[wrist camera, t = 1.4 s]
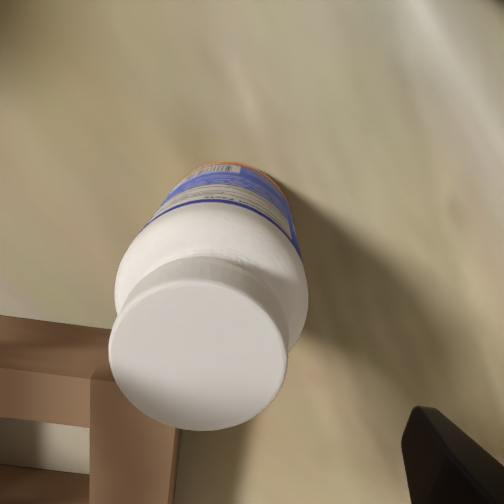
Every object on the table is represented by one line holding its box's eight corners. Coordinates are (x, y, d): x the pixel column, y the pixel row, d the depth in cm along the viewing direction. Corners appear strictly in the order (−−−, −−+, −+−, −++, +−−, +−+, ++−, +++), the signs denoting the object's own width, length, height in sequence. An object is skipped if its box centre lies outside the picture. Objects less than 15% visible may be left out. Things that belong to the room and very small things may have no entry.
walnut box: (191, 340, 21) (179, 390, 18) (172, 516, 26) (159, 581, 22) (-115, 300, 20) (-186, 344, 17) (-79, 488, 25) (-129, 550, 22)
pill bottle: (260, 298, 20) (262, 486, 11) (146, 253, 19) (48, 415, 10) (315, 190, 18) (370, 312, 9) (190, 135, 17) (117, 209, 8)
